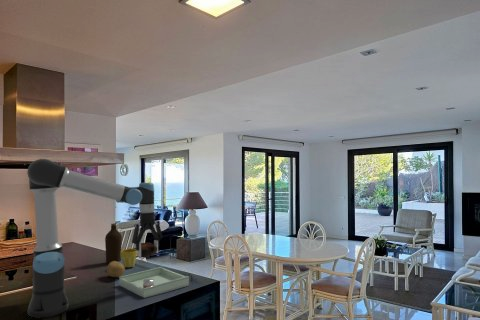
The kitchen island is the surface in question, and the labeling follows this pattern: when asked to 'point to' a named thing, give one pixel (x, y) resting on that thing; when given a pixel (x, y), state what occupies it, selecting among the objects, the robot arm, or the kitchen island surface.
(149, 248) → the pottery mug
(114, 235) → the olive oil
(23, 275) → the kitchen island surface
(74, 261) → the kitchen island surface
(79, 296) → the kitchen island surface
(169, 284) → the tray
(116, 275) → the potato
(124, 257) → the plant pot
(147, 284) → the tin
